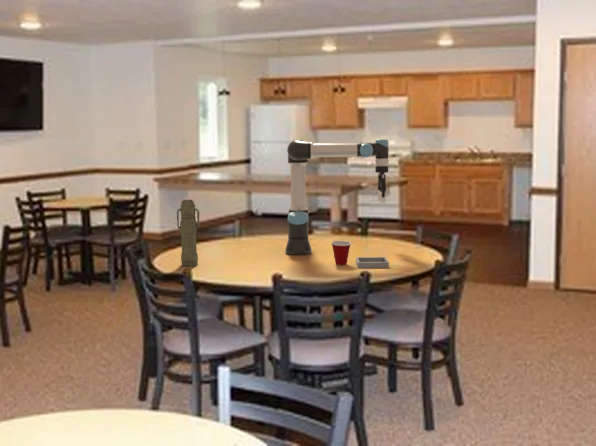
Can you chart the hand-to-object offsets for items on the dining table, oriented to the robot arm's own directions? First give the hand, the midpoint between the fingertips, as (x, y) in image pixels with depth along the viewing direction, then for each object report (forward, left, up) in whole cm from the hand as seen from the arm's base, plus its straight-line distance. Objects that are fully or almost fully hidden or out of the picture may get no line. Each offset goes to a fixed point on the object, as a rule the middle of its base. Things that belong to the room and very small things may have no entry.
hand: (381, 202), depth 471 cm
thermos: (-107, -47, -28) cm, 120 cm away
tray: (-10, -53, -28) cm, 61 cm away
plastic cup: (-26, -50, -28) cm, 63 cm away
